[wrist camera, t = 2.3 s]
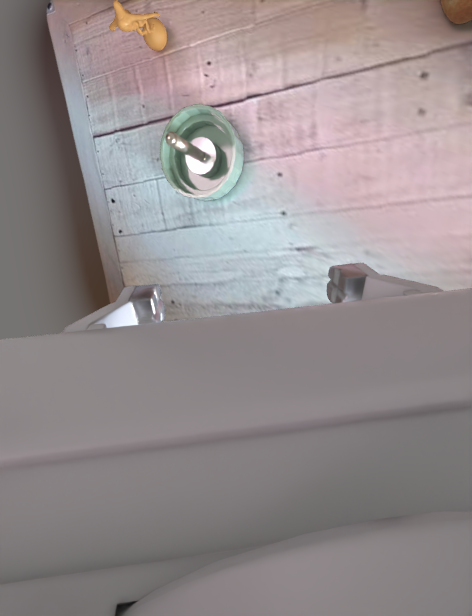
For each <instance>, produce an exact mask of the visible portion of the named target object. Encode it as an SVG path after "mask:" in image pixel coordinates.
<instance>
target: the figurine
mask: <svg viewBox="0 0 472 616" xmlns="http://www.w3.org/2000/svg"><path fill="white" fill-rule="evenodd" d="M113 5H114V9H115V19H114V21H113V22H112V23H111V25H110V26H109V29H110V30H111V31H115V28H116V27H117V26H118V27H119V28H120V29H121V30H122V31H124V32H130V31H135V30H137V32H138V33H139V34H141V35H143V37H144V40H145V42H146V44H147V45H148V46H149V47H150V48H151V49H152V50H155V51H160V50H162V49H163V48H164V47H165V45H166V43H167V32H166V29H165V27H164V25H163V23H162V22H161V21H160V20H159V19H157V18H154V16H159V15H160V14H158V12H154V13H149V14H144V15H141V14H131V13H130V12H129V11H128V10H126V9H124V8H123V7H122V5H121V4H120V2H118V1H117V0H115V1H114V3H113ZM159 17H160V16H159ZM146 19H147V20H146ZM140 27H143V30H142V31H141V29H140Z"/></svg>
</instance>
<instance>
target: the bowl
mask: <svg viewBox="0 0 472 616" xmlns="http://www.w3.org/2000/svg"><path fill="white" fill-rule="evenodd" d="M168 132H174V133H176V134H177V135H179V136H180V137H182V138H183V139H185V140H187V141H188V142H191V141H192V140H193V139H195V138H197V137H206V138H208V139H209V140H211V141H212V142H213V143H215V144H216V145H217V146H218V147H219V149H220V151H221V154H222V164H221V167H220V169H219V171H218V172H217V173H216V174H215V175H213V176H211V177H202V176H200V175H197V174H195V173H193V172H192V171H191V170H190V169H189V167H188V166H187V163H186V158H185V154H184V153H182V152H181V151H179V150H177V149H175V148H173V147H171V146H169V145H168V144H167V142H166V140H165V136H166V134H167V133H168ZM160 160H161V165H162V170H163V172H164V174H165V177H166V179H167V181H168V182H169V183H170V184H171V186H172V187H173V188H174V189H175V190H176V191H177V192H179V193H181V194H182V195H184V196H186V197H190V198H194V199H199V200H204V201H210V200H216V199H219V198H221V197H222V196H224V195H226V194H227V193H228V192H229V191H230V190H231V189H232V188H233V187H234V186H235V185H236V183H237V181H238V179H239V176H240V174H241V172H242V167H243V161H244V153H243V145H242V142H241V139H240V137H239V134H238V132H237V131H236V129H235V128H234V127H233V126H232V125H231V124H230V122H229V121H228V120H227V119H226V118H225V117H224V116H223V115H222V113H221V112H220V111H218V110H216V109H214V108H212V107H211V106H209V105H200V104H194V105H191V106H188V107H185V108H183V109H182V110H180V111H179V112H178V113H176V114H175V115H174V116H173V117H172V119H171V120H170V121H169V123H168V124H167V126H166V128H165V130H164V133H163V136H162V139H161V146H160Z"/></svg>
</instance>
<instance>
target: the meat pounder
mask: <svg viewBox="0 0 472 616" xmlns="http://www.w3.org/2000/svg"><path fill="white" fill-rule="evenodd" d="M165 140H166V142H167V144H168V145H169V146H171V147H173V148H175V149H177V150H179V151H181V152H182V153H184V154H185V158H186V163H187V166H188V167H189V169H190V170H191V171H192V172H193V173H195V174H197V175H200V176H202V177H211V176H213V175H215V174H216V173H217V172H218V171H219V169H220V167H221V164H222V154H221V151H220V149H219V147H218V146H217V145H216V144H215V143H213V142H212V141H211V140H209V139H208V138H206V137H197V138H195V139H193V140H192V141H191V142H188V141H187V140H185V139H183V138H182V137H180V136H179V135H177V134H176V133H174V132H168V133H167V134H166V136H165Z"/></svg>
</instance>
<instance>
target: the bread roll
mask: <svg viewBox="0 0 472 616" xmlns="http://www.w3.org/2000/svg"><path fill="white" fill-rule="evenodd" d="M440 1H441V5H442V9H443V11H444V13H445V14H446V16H447V17H448V19H449V20H450V21H451V22H453V23H455V24H462V23H466V22H468V21H470V20H471V19H472V0H440Z"/></svg>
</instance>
